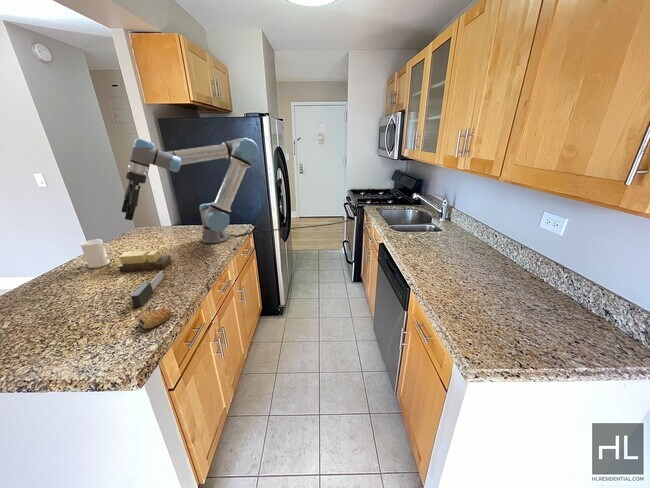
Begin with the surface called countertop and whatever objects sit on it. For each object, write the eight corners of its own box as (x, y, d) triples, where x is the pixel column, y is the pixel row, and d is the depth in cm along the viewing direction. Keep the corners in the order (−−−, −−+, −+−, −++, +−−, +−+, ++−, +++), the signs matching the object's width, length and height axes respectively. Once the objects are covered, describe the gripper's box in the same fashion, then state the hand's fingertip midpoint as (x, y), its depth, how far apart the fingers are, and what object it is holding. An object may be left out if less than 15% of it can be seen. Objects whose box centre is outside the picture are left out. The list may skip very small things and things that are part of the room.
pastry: (166, 310, 94) (164, 301, 93) (176, 317, 91) (173, 308, 89) (137, 324, 87) (134, 314, 86) (146, 332, 84) (143, 322, 82)
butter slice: (160, 257, 131) (158, 249, 129) (155, 262, 125) (153, 254, 124) (154, 257, 130) (152, 250, 129) (148, 262, 125) (146, 255, 124)
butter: (150, 257, 130) (148, 250, 129) (144, 262, 125) (142, 255, 123) (128, 259, 129) (126, 251, 127) (121, 264, 123) (119, 256, 122)
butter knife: (166, 277, 118) (163, 267, 116) (141, 306, 97) (137, 295, 95) (160, 277, 117) (157, 267, 115) (134, 307, 96) (130, 296, 94)
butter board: (171, 260, 134) (170, 255, 133) (163, 269, 125) (161, 263, 124) (131, 262, 132) (129, 257, 130) (120, 272, 122) (118, 266, 121)
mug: (120, 259, 135) (113, 237, 131) (111, 266, 128) (103, 244, 123) (94, 261, 133) (86, 239, 129) (83, 268, 126) (75, 245, 121)
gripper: (124, 166, 127) (114, 207, 130) (131, 174, 110) (119, 221, 113) (142, 172, 132) (132, 211, 135) (152, 179, 115) (140, 224, 118)
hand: (126, 215), depth 124 cm, fingers open, 13 cm apart
